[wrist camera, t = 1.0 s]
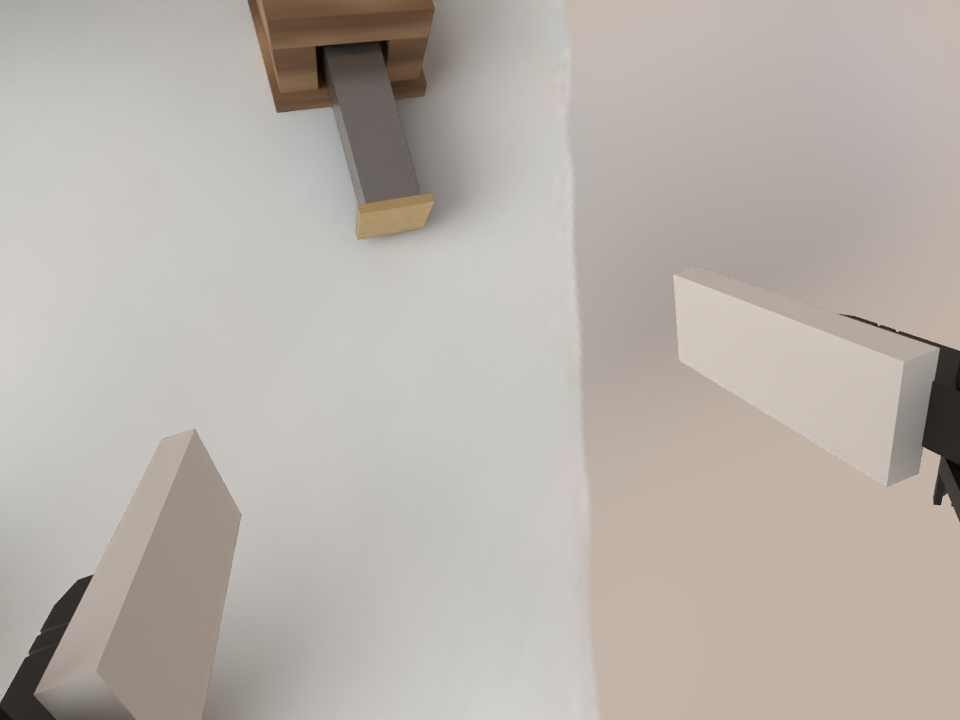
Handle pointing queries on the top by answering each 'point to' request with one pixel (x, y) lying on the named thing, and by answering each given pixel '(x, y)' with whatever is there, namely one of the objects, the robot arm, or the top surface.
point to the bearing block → (338, 20)
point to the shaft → (373, 140)
